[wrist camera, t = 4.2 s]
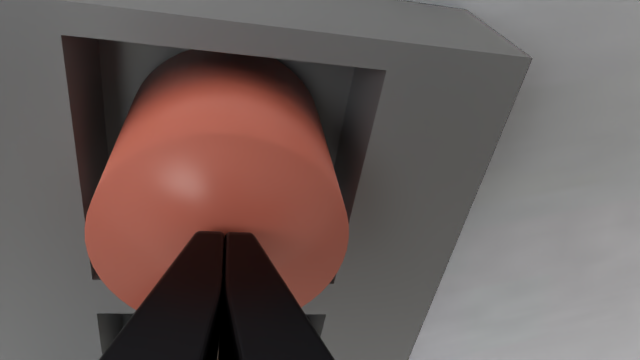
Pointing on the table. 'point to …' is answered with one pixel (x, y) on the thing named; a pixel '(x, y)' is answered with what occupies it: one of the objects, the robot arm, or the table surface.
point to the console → (337, 123)
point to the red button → (218, 175)
